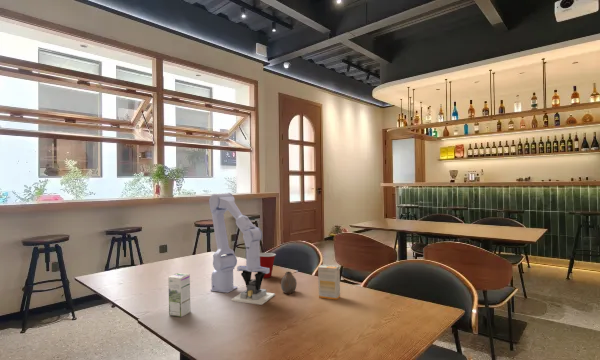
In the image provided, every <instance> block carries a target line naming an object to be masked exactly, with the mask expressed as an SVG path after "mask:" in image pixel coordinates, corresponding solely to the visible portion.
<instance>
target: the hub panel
mask: <svg viewBox="0 0 600 360" xmlns="http://www.w3.org/2000/svg"><path fill="white" fill-rule="evenodd" d="M275 296H276V293H275V292H274V293H273V292H267V289H265V288H260V292H259V293H257V294H252V296H248V295H247V289H245V290H244V291H242V292H239V294H238V295H236V296H233V297H232V298H231V301H232V302H236V303H246V304H253V305H260V306H263V305H264V304H265V303H266V302H268V301H269V300H270V299H272V298H273V297H275Z"/></svg>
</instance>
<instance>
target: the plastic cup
mask: <svg viewBox="0 0 600 360" xmlns="http://www.w3.org/2000/svg"><path fill="white" fill-rule="evenodd" d="M276 256H277V254H276V253H274V252H273V253H272V252H260V266H261V267H265V268H270V273H268V274H266V273H265V275H264V277H263V279H269V278H272V276H273V275H272V274H273V269H274V268H273V267H274V261H275V258H276Z"/></svg>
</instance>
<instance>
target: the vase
mask: <svg viewBox="0 0 600 360" xmlns="http://www.w3.org/2000/svg"><path fill="white" fill-rule="evenodd" d="M280 281H281V282H280V287H281V290H282V292H284V293H285V294H292V293H294V292H295V291H296V289H297V279H296V277H295V276H294V275H293V273H292V272H291V271H285V273H284V275H283V277H282V278H281V280H280Z"/></svg>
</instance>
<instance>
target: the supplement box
mask: <svg viewBox="0 0 600 360" xmlns="http://www.w3.org/2000/svg"><path fill="white" fill-rule="evenodd" d="M340 270H341V269H340V265H331V264H321V265H319V266H318V267H317V271H318V272H317V274H318V276H317V278H318V281H317V282H318V298H319V299H327V300H328V299H329V300H335V301H337V300H339V299H340V298H341V277H340V273H341V272H340Z"/></svg>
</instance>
